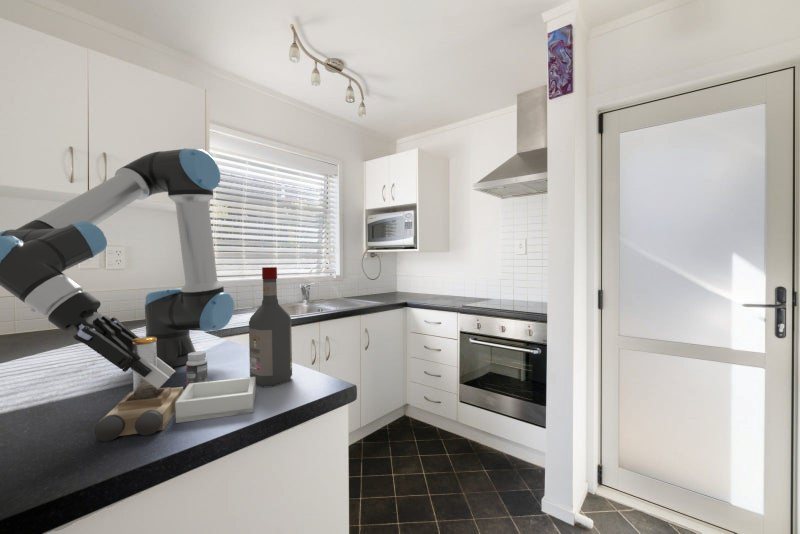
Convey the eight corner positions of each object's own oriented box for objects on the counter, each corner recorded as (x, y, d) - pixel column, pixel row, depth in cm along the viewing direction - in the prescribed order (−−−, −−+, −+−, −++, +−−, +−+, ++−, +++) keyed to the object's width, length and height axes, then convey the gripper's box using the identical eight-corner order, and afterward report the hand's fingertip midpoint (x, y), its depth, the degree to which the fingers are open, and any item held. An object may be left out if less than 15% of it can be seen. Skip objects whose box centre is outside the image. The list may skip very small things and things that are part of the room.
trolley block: (131, 405, 80) (131, 385, 80) (183, 399, 84) (183, 380, 84) (94, 442, 64) (93, 417, 64) (160, 433, 67) (160, 409, 67)
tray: (189, 401, 83) (189, 383, 83) (255, 393, 87) (255, 376, 87) (175, 423, 71) (175, 402, 71) (252, 412, 76) (252, 393, 76)
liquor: (265, 389, 90) (263, 267, 90) (246, 382, 96) (243, 267, 95) (296, 379, 97) (294, 266, 97) (276, 373, 103) (274, 267, 102)
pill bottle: (182, 387, 92) (181, 354, 92) (200, 381, 97) (199, 350, 97) (194, 389, 90) (193, 356, 90) (211, 384, 94) (211, 351, 94)
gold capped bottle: (137, 400, 76) (136, 337, 76) (160, 397, 77) (159, 336, 77) (130, 407, 72) (128, 341, 72) (154, 404, 73) (153, 339, 73)
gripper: (72, 312, 77) (164, 381, 83) (19, 325, 61) (137, 409, 67) (102, 287, 79) (190, 355, 85) (57, 293, 63) (170, 377, 68)
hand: (166, 379), depth 76 cm, fingers closed on gold capped bottle, 4 cm apart
